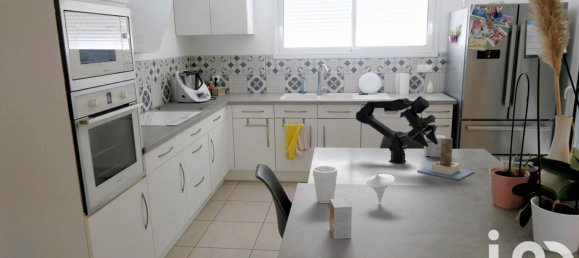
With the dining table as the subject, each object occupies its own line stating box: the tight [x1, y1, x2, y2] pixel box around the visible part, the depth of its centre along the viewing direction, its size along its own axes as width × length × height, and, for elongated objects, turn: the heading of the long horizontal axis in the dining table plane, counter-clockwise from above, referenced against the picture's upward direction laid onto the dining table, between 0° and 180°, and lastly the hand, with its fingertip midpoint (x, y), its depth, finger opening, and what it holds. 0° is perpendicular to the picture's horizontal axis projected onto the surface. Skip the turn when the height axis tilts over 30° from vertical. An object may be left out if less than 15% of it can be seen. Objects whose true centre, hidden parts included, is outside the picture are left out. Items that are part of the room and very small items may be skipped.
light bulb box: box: [423, 134, 447, 158], centre depth 229 cm, size 11×7×11 cm, turn 84°
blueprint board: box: [417, 161, 475, 181], centre depth 199 cm, size 20×16×4 cm
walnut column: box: [439, 137, 453, 167], centre depth 198 cm, size 5×5×13 cm
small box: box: [329, 197, 353, 240], centre depth 135 cm, size 8×6×10 cm
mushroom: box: [365, 173, 396, 204], centre depth 160 cm, size 10×11×12 cm
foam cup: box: [312, 165, 338, 203], centre depth 164 cm, size 10×9×13 cm
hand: (432, 145), depth 204 cm, fingers open, 9 cm apart
